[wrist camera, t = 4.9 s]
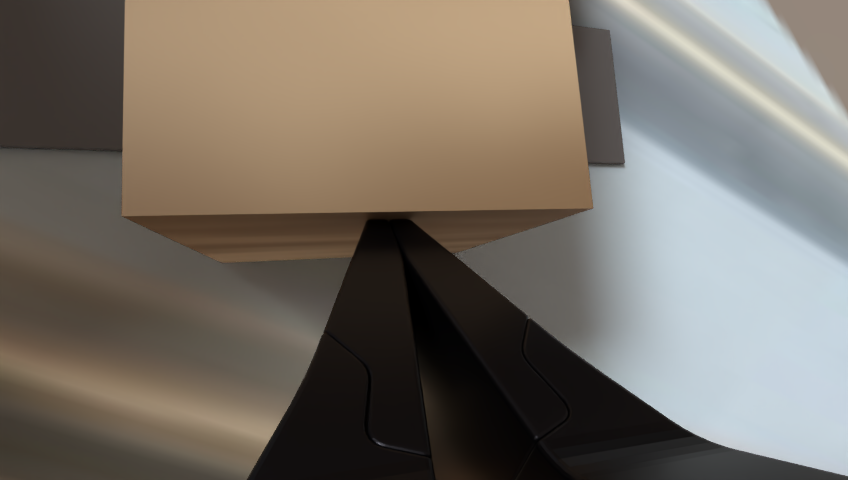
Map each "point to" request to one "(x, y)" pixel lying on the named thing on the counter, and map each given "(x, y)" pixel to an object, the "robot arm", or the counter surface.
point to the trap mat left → (62, 74)
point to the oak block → (348, 122)
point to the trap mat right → (598, 95)
